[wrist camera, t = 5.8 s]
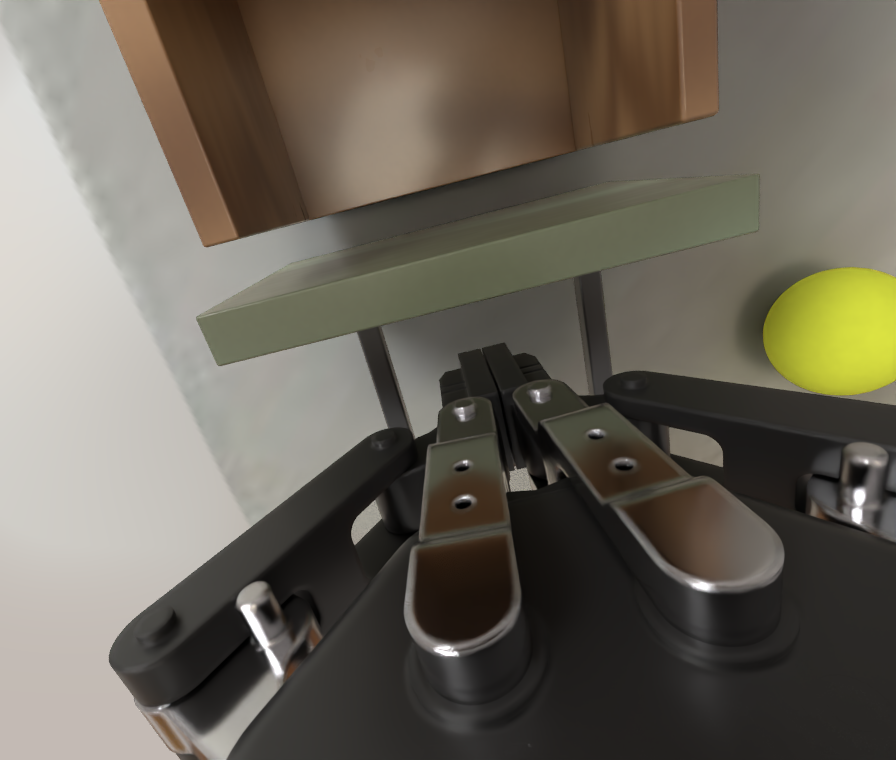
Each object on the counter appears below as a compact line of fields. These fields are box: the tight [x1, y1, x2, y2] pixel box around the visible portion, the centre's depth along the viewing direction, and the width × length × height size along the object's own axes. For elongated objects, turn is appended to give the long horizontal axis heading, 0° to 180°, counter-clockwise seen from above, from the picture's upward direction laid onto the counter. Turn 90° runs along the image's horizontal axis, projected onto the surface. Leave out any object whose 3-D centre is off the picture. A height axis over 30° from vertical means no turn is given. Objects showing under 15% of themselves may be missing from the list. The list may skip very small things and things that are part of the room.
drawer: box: [99, 0, 760, 466], centre depth 13 cm, size 20×12×8 cm, turn 14°
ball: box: [763, 267, 896, 395], centre depth 19 cm, size 5×5×5 cm
